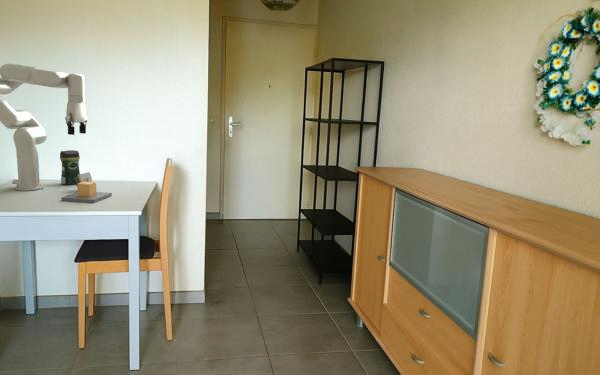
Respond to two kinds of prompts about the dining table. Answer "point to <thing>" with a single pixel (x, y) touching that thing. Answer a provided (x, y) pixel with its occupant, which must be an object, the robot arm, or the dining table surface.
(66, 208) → the dining table surface
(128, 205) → the dining table surface
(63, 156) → the coffee jar
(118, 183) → the dining table surface
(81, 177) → the electrical switch
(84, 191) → the tan cardboard cube
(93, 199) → the plate
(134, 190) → the dining table surface
